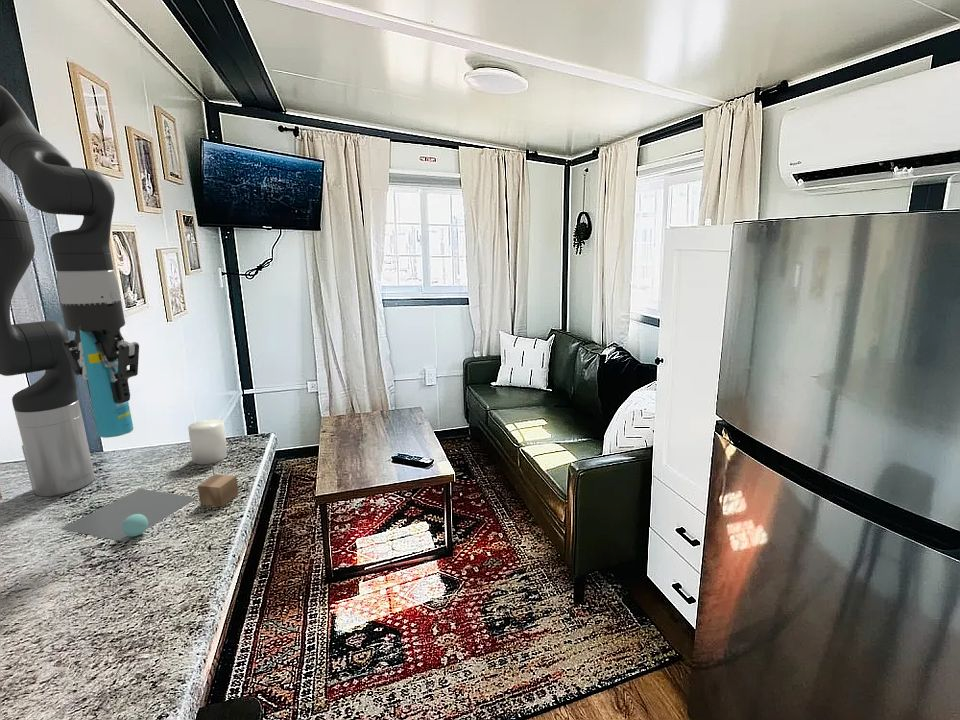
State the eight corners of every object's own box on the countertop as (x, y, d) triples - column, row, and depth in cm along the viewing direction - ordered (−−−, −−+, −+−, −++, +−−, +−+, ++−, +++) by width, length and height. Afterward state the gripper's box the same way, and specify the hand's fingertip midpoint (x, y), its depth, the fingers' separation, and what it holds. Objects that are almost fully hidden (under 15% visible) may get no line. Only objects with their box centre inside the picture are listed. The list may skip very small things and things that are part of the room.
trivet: (61, 531, 78) (61, 528, 78) (140, 491, 91) (140, 488, 91) (125, 545, 75) (125, 541, 74) (198, 500, 88) (197, 498, 88)
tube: (121, 440, 76) (99, 324, 72) (87, 442, 75) (62, 326, 71) (142, 423, 83) (123, 318, 79) (112, 426, 82) (91, 319, 78)
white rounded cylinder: (184, 462, 103) (180, 429, 101) (207, 449, 110) (204, 418, 108) (212, 465, 102) (209, 431, 100) (234, 452, 109) (231, 420, 107)
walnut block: (197, 485, 85) (219, 487, 84) (214, 474, 89) (236, 475, 88) (201, 507, 86) (222, 509, 85) (218, 495, 90) (239, 497, 89)
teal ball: (118, 539, 75) (114, 520, 74) (138, 527, 78) (135, 508, 78) (135, 542, 74) (131, 523, 73) (155, 530, 77) (151, 511, 77)
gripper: (31, 300, 72) (55, 404, 76) (101, 303, 69) (121, 411, 73) (83, 296, 79) (101, 391, 83) (148, 298, 76) (164, 397, 80)
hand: (111, 400), depth 78 cm, fingers closed on tube, 4 cm apart
